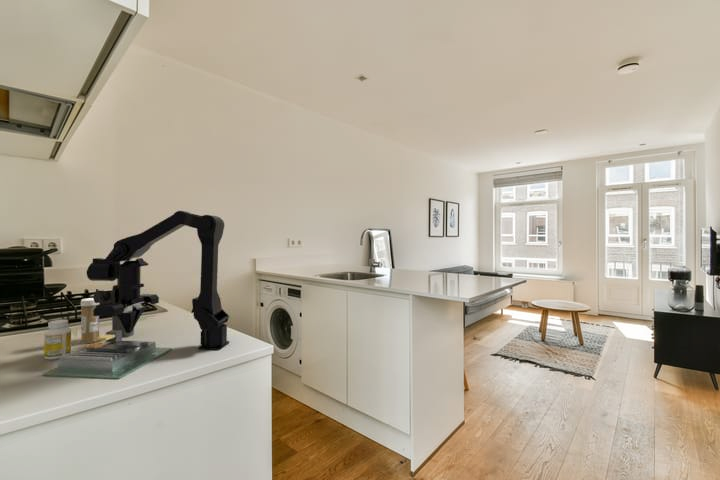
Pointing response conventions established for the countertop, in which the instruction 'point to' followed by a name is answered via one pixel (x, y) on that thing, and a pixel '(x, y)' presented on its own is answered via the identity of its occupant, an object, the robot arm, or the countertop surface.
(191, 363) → the countertop surface
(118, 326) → the bottle
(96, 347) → the grey and orange bar
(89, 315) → the sprinkles bottle
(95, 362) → the heatsink
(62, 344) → the supplement bottle
